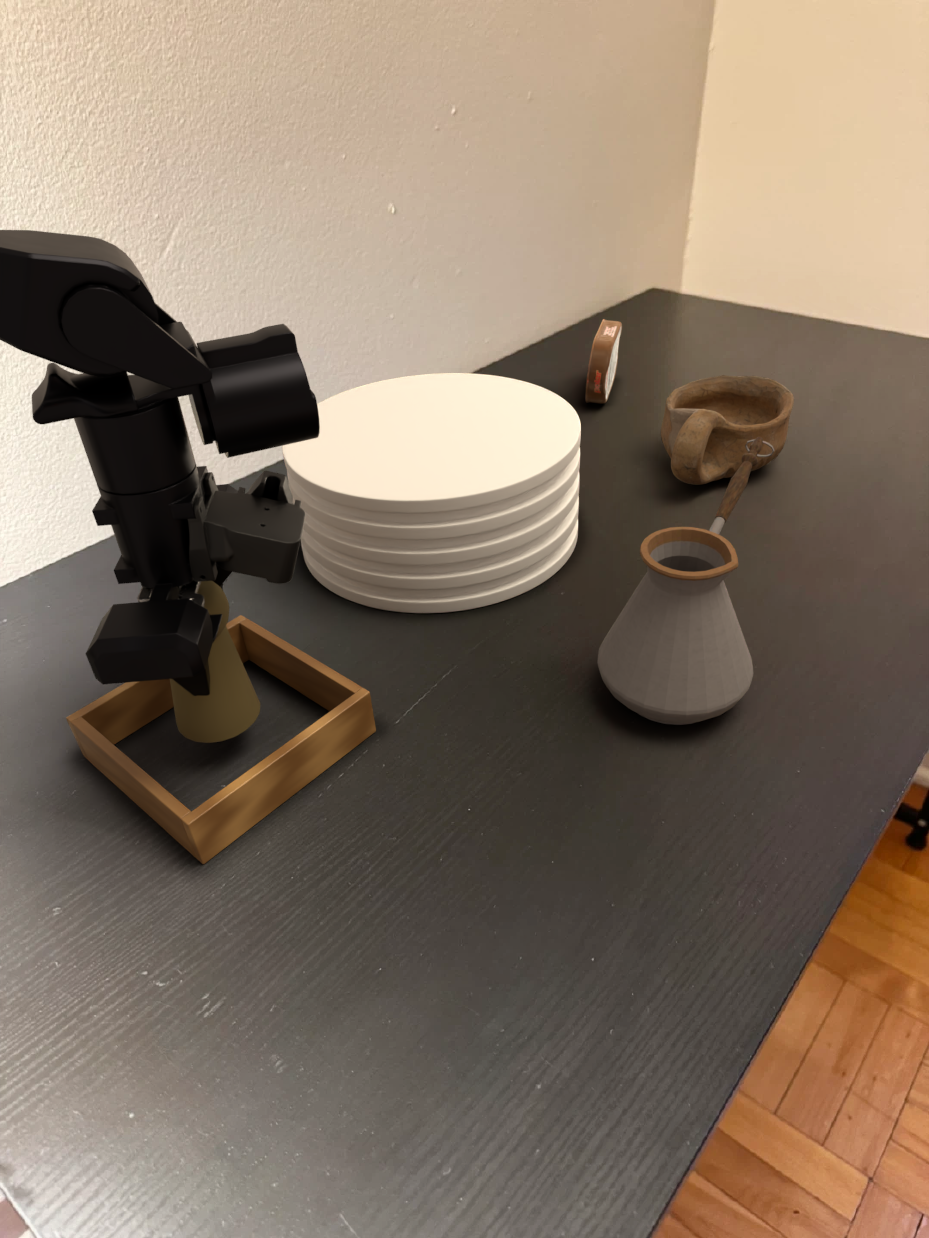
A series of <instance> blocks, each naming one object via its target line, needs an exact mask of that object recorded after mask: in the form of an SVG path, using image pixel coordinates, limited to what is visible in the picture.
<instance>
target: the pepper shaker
mask: <svg viewBox="0 0 929 1238" xmlns="http://www.w3.org/2000/svg"><path fill="white" fill-rule="evenodd" d="M197 594H201V595H203V597H204V600H205V604H204V608H206V609H208V612H209V615H214V614H222V619H221V622H220V626H219V629H218V633H217V636H216V639H215V641H214V642H213V643H212V647H211V650H210V654H209V657H208V664H209V673H210V694H209V695H208V696H198V695H197V696H193V695H192V694H191V693H189V692H188V691H187V690H186V689H184V688H183V687H182V686H180V685H179V684H178V683H177V682H175V681H174V680H173V679H170V684H171V691H172V697H173V704H174V707H173V712H174V715H175V717H174V718H175V723H176V726H177V730H178V732H179V733H180V734H181V735H182V736H183V737H184V738H185V739H188V740H190V741H193V742H195V743H206V744H210V743H211V744H212V743H217V742H223V741H226V740H230V739H233V738H236V737H237V736H239V735H240V734H242V733H244V732H246V731H247V730H248V729H249V728H250V727H251V726H252V725H253V724H254V723H255V722H256V721H257V719H258V717H259V715H260V713H261V702H260V700H259V697H258V695H257V693H256V690H255V688H254V686H253V684H252V681H251V679H250V677H249V674H248V673H247V670H246V668H245V665H244V663H242V661H241V659H240V657H239V654H238V652H237V650H236V647H235V645H234V643H233V641H232V638H231V636H230V634H229V632H228V629H227V627H226V624H227V623H228V622H229V618H230V603H229V599H228V598H227V595H226V593H225V591H224V589H223V590H222V588H221V587H220V586H218V585H217V584H216V583H214V582H213V581H202V582H201V583H200V586H199V589H198V592H197Z"/></svg>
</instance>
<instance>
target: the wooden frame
mask: <svg viewBox="0 0 929 1238" xmlns="http://www.w3.org/2000/svg"><path fill="white" fill-rule="evenodd" d="M226 627H227V629H228V632H229V634H230V636H231V638H232V641H233V643H234V645H235V647H236V650H237V652H238V654H239V657H240V659H241V661H242V663H243V664H245V663H246V662H248V661H250V662H252V663H253V664H255V665H256V666H258V667H260V668H261V669H263V670H264V671H266V672H267V673H269V674H270V675H272V676H274V677H275V678H276V679H278V680H280V681H282V682H283V683H284V684H286V685H288V686H289V687H291V688H293V689H294V690H296V691H297V692H298V693H300V694H302V695H303V696H304V697H306V698H308V699H309V700H311V701H313V702H314V703H315V704H317V705H319V706H320V707H322V708H323V709H325V710H326V711H328V712H327V713H325V714H324V715H323V716H322V717H320V718H319V719H317V720H316V721H314V722H313V723H312V724H311V725H309V726H307V727H306V728H304V729H303V730H302V731H301V732H300V733H298V734H297V735H295V736H294V737H292V738H291V739H290V740H288V741H287V742H286V743H284V744H283V745H281V746H280V747H278V748H277V749H275V750H274V751H273V752H272V753H270V754H269V755H268V756H266V757H265V758H264V759H262V760H260V761H259V762H257V764H255V765H254V766H252V767H251V768H250V769H248V770H246V771H245V772H244V773H242V774H241V775H240V776H238V777H237V778H235V779H234V780H233V781H231V782H230V783H229V784H227V785H225V787H223V788H222V789H220V790H219V791H218V792H216V793H215V794H214V795H212V796H211V797H209V798H208V799H207V800H205V801H204V802H202V803H201V804H199V805H198V806H197V807H196V808H194V809H192V810H190V809H189V808H188V807H187V806H185V804H183V803H182V802H181V801H180V800H179V799H177V798H176V796H174V795H173V794H172V793H170V791H168V789H166V788H165V787H164V786H162V784H160V783H159V782H158V781H157V780H155V779H154V778H153V777H152V776H151V775H150V774H149V773H147V772H146V771H145V770H144V769H143V768H141V767H140V766H139V765H138V764H137V763H136V762H135V761H134V760H132V759H131V758H130V757H129V756H128V755H126V754H125V753H124V752H123V751H122V750H121V749H120V748H118V747H117V746H115V745H116V744H117V743H120V741H122V740H124V739H125V738H127V737H128V736H130V735H131V734H133V733H135V732H136V731H138V730H139V729H142V728H143V727H144V726H146V725H148V724H149V723H151V722H152V721H154V720H155V719H157V718H158V717H160V716H162V715H164V714H165V713H166V712H168V711H170V710H171V709H174V704H173V697H172V691H171V684H170V679H163V680H151V681H138V682H126V683H121V685H118V686H117V687H115V688H114V689H112V690H110V691H109V692H106V693H105V694H103V695H101V696H100V697H98V698H97V699H95V700H94V701H92V702H90V703H88V704H87V705H85V706H83V707H81V708H79V709H78V710H77V711H75V712H73V713H71V714H69V715H68V716H66V717H65V719H66V721H67V724H68V726H69V728H70V730H71V732H72V735H73V736H74V739H75V741H76V743H77V746H78V747H79V749H80V752H81V754H82V756H83V757H84V758H85V759H86V760H87V761H88V762H89V763H90V764H92V765H93V766H94V767H95V768H96V769H97V770H98V771H99V772H101V773H102V775H104V776H105V777H106V778H107V780H109V781H110V782H111V783H113V785H114V786H116V787H117V788H118V789H119V790H120V792H122V793H124V795H126V797H128V798H129V799H130V800H131V801H132V802H134V803H135V804H136V806H137V807H139V808H140V809H141V810H142V811H143V812H144V813H145V814H147V815H148V816H149V817H150V818H151V819H152V820H153V821H154V822H155V823H156V824H158V825H159V826H160V827H161V828H162V829H163V830H164V831H165V832H166V833H168V835H170V836H171V837H172V838H173V839H174V840H175V841H176V842H177V843H178V844H179V845H180V846H182V847H183V848H184V849H185V850H186V851H187V852H188V853H190V854H191V855H192V856H193V857H194V858H195V859H196V860H197V861H198V862H200V863H201V864H202V865H205V864H207V863H208V862H209V861H210V860H212V859H213V858H214V857H215V856H217V855H218V854H219V853H220V852H222V851H223V850H225V848H226V849H227V847H229V846H230V845H231V844H232V843H233V842H235V841H236V840H237V839H239V838H240V837H242V836H243V835H244V834H245V833H246V832H248V831H249V830H250V829H252V828H253V827H254V826H255V825H257V824H258V823H260V822H261V821H262V820H264V818H266V817H268V815H270V814H271V813H273V812H274V811H275V810H277V808H279V807H280V806H281V805H283V804H284V803H285V802H287V801H288V800H289V799H290V798H292V797H293V796H294V795H295V794H297V793H299V791H301V790H302V789H304V787H306V786H307V785H309V784H310V783H311V782H312V781H314V780H315V779H317V778H318V777H319V776H320V775H322V774H323V773H324V772H325V771H326V770H328V769H330V768H331V767H332V766H333V765H335V764H336V763H337V762H338V761H340V760H341V759H342V758H343V757H345V756H346V755H347V754H348V753H350V752H351V751H352V750H354V749H355V748H357V747H358V746H359V745H360V744H362V743H363V742H364V741H365V740H367V739H368V738H369V737H370V736H372V735H373V734H374V733H376V732H377V727H376V721H375V715H374V710H373V704H372V703H373V702H372V696H371V692H370V691H369V690H367V689H366V688H365V687H363V686H361V685H359V684H357V682H355V681H353V680H351V679H349V678H348V677H346V676H344V675H343V674H341V673H339V672H337V671H335V670H334V669H333V668H331V667H329V666H327V665H326V664H325V663H323V662H321V661H319V660H318V659H316V658H314V657H312V655H309V654H308V653H306V652H304V651H303V650H301V649H299V648H297V647H296V646H294V645H293V644H291V643H289V642H287V641H286V640H284V639H283V638H280V636H277V635H275V634H274V633H272V632H271V631H269V630H267V629H266V628H264V627H262V626H261V625H259V624H257V623H255V622H254V621H252V620H251V619H249V618H247V617H246V616H244V615H241V614H240V615H238V616H236V617H235V618H233V619H232V620H229V621H228V622H227V624H226Z"/></svg>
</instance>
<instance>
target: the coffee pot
mask: <svg viewBox="0 0 929 1238" xmlns="http://www.w3.org/2000/svg"><path fill="white" fill-rule="evenodd" d="M750 442H753V443H752V444H751V445H750V448H749V449H748V446H747V444H748V443H750ZM762 443H764V444H766V445H768V446H769V447H771V449H772V451H773V452H774V448H773V446H772V445H771V444H769V443H768V442H766V441H763V438H761V437H757V438H756V439H753V440H749V441H747V443H746V445H745V447H746V450H747V451H748V454H745V455H743V456H742V459H741V460H742V464H741V466H740V467H739V469H738V470H737V471H736V473H735V474H734V475H733V476H732V477H730V479H729V483H728V485H727V488H726V490H725V492H724V495H723V497H722V499H721V502H720V504H719V506H718V509H717V511H716V514H715V516H714V520H713V522H712V524H711V526H710V528H709V530H707V529H705V528H700V527H693V526H671V527H665V528H662V529H659V530H656V531H654V532H651V533H650V534H649V535H648V536H646V537H645V538H644V539H643V541H642V543H641V544H640V546H639V556H640V557H641V560H642V562H643V563H644V564H645V565H646V570H647V571H646V573H645V574H644V576H643V577H642V579H641V580H640V581H639V583H638V585H637V586H636V588H635V589H634V591H633V592H632V594H631V596H630V597H629V599H628V600H627V602H626V603H625V605H624V606H623V608H622V610H621V612H620V613H619V614H618V616H617V618H616V619H615V621H614V623H613V624H612V626H611V627H610V629H609V631H607V633H606V635H605V637H604V639H603V640H602V642H601V644H600V646H599V647H598V652H597V660H596V661H597V662H596V663H597V668H598V670H599V673H600V676H601V680H602V681H603V683H604V685H605V686H606V688H607V690H608V691H609V693H611V695H612V696H613V698H614V699H615V700H617V701H618V702H620V703H621V704H622V705H624V706H625V707H626V708H627V709H629V710H630V711H632V712H635V713H637V714H638V715H639V716H641V717H643V718H646V719H647V720H649V721H653V722H657V723H661V724H665V725H675V726H682V725H692V724H695V723H699V722H704V721H706V720H709V719H712V718H716V717H719V716H721V715H722V714H724V713H726V712H728V711H729V710H731V709H733V708H734V707H735V706H736V705H737V704H738V703H739V702H740V701H741V700H742V699H743V697H744V696H745V694H746V693H747V692H748V691H749V690H750V688H751V684H752V681H753V678H754V666H753V659H752V656H751V653H750V650H749V647H748V645H747V642H746V639H745V636H744V633H743V630H742V628H741V625H740V623H739V620H738V619H739V618H738V617H737V614H736V611H735V608H734V606H733V602H732V599H731V598H730V594H729V591H728V589H727V586H726V583H725V581H724V580H725V579H726V578H727V577H728V576H729V575H730V574H731V573H732V572H733V571H735V570H736V569H738V568H739V558H738V555H737V551H736V549H735V547H734V546H733V544H732V543H731V542H730V541H729V540H728V539H727V538H725V537H724V536H722V535H721V532H722V530H723V528H724V525H725V523H727V521H728V519H729V517H730V516H731V514H732V512H733V511H734V509H735V507H736V505H737V503H738V501H739V500H740V498H741V497H742V494H743V493H744V491H745V489H746V488H747V486H748V482H749V477H750V474H751V472H752V471H751V468H752V467H753V466H755V465H756V464H757V462H758V460H757V457H769V456H772V454H773V452H772V453H771V454H768V455H759V454H758V453H759V452H760V451H761V448H762ZM756 456H757V457H756Z"/></svg>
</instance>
